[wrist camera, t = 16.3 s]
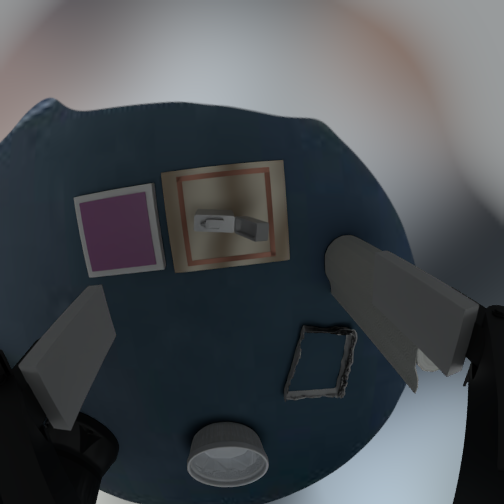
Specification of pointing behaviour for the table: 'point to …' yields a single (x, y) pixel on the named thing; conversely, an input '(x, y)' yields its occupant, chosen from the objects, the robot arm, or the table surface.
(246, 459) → the ramekin
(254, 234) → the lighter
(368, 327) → the paper towel roll
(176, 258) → the marked board
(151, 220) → the ink pad
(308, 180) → the table surface
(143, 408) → the table surface
